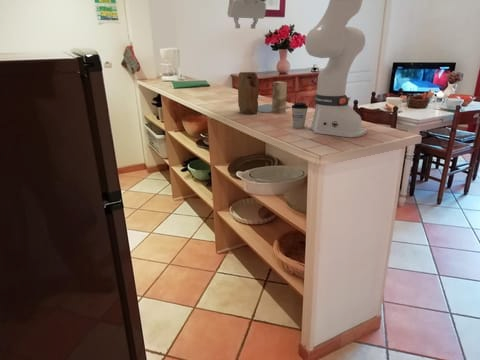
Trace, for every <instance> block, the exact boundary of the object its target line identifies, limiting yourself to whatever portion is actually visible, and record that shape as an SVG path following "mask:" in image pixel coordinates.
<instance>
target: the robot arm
mask: <svg viewBox="0 0 480 360" xmlns="http://www.w3.org/2000/svg"><path fill="white" fill-rule="evenodd" d="M266 1H267V0H229V1H228V2H229V3H228V7H227V13H226V14H227V17H229V18H233V23H234V24H235V26H234V28H235V29H241V24H240V23H239V20H240V19H252V20H253V22H252V24H250V29H252V30H253V29H256V26H257V24H258V22H259V19H261V20H263V19H264V18H265V16H266V10H267V6H266V5H267V4H266ZM362 3H363V0H329V1H328V5H327V8H326V10H325V12H324V14H323V16H322V18H321V19H320V21H318V23H317V24H316V25H315V26H314V27H313V28H312V29H310V30H309V31H308V33H306V36H305V40H304V47H305V50H306V52H307V54H308V55H309V56H311V57H314V58H319V59H328V61H327V64H326V65H325V67H324V68H323V69H321V70H320V72H319V73H318V76H317V86H316V93H315V98H314V114H313V118H312V121H311V124H310V128H309V129H310V130H312V132H313V133H315V134H321V135H322V134H323V135H328V136H335V137H336V136H337V137H344V138H357V137H361V136H363V135H365V134H367V133H368V131H367V129H366V128H363V127H362V117H361V115H360V114H358V113H357V111H356V110H354V109H353V108H352V107H351V105H349V101H351V98H352V97H351V96H349V97H348V96H347V95H346V89H347V82H348V76H349V72H350V69H351V66H352V65H353V62H354V60H356V58H357V56H359V55H360V53H361V52H363V50H364V47H365V46H366V36H365V33H364V32H363V31H362V29H358V28H356V27H353V26H347V25H348V23H349V21H350V20H351V19H352V18H353V17H354V16H356V15H357V14H358V13H359V12H360V11H361V9H362V8H361V7H362Z"/></svg>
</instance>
